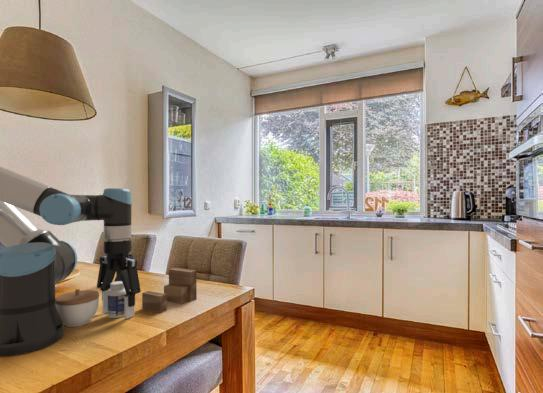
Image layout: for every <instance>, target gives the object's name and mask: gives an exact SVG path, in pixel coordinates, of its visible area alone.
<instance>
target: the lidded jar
mask: <svg viewBox="0 0 543 393" xmlns="http://www.w3.org/2000/svg"><path fill="white" fill-rule="evenodd" d="M99 297H100V292H99V291H98V290H94V289H93V290H92V289H84V290H83V289H81V290H80V288H77V289H76V288H75V290H74V291H70V292H65V293H62V294H59V295H57V296H55V306H56V308H57V311H58V313H59V316H60V318H61V321H62V323H63V325H64V326H65V327H67V328H76V327H81V326H84V325H86V324H88V323H90V321H91V320H92V319H93V318H94V317H95V315H96V313H97V311H98V308H99V302H100V301H99V300H100V298H99Z"/></svg>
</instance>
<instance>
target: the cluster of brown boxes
mask: <svg viewBox="0 0 543 393" xmlns="http://www.w3.org/2000/svg"><path fill="white" fill-rule="evenodd" d="M197 289H198V288H197V270H196V269H189V268H188V269H187V268H181V267H180V268H179V267H171V268H168V284H165V285H164V286H163V293H162V292H157V291H152V290H151V291H150V290H148V291H145V292H142V294H141V295H142V298H141V301H142V304H141V305H142V306H141V308H142V310H147V311H152V312H156V313H159V314H160V313H161V314H162V313H163V312H167V311H168V310H167V309H168V308H167V306H168V302H169V303H173V304H178V305H179V304H180V305H183V304H185V303H187V302H193V301H196V300H197V298H198V297H197V296H198V295H197V291H198V290H197Z"/></svg>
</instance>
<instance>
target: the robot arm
mask: <svg viewBox="0 0 543 393" xmlns="http://www.w3.org/2000/svg"><path fill="white" fill-rule="evenodd" d="M131 192H132V191H130V189H128V188H110V187H109V188H105V189H104V190H103V193H102V194H99V195H98V194H97V195H95V194H92V195H91V194H68V192H67V193H66V192H64V191H61V190H59V189H57V188H54V187H51V186H49V185H46V184H44V183H42V182H39V181H37V180H34V179H32V178H30V177H28V176H24V175H22V174H20V173H18V172H14V171H12V170H10V169H8V168H5V167H2V166H0V243H1V244H2V245H3V246H5V248H2V249H0V357H12V356H18V355H23V354H28V353H31V352H35V351H38V350H41V349H44V348H47V347H49V346H51V345H53V344H55V343H56V342H58V341H59V340H61V339H62V338H63V336H64V324H63V323H62V321H61V318H60V316H59V313H58V311H57V308H56V306H55V298H56V284H58V283H60V282H63V281H64V280H66V279H67V277H69V276H70V275H71V274H72V273H73V271H74V270H75V268H76V266H77V263H78V253H77V252H76V248H74V246H73V245H71V244H70V243H69V242H66V241H63V240H60V239H58V238H57V237H56V235H54V234H53V233H52V232H51V231H50V230H48V229H40V228H39V227H38V226H37V225H35V223H34V222H33V221H32V220H31V219H30V218H28V216H26V214H24V213H23V212H22V211H21V210H23V211H26V212H29V213H31V214H35V215H36V216H38V217H41V218H42V220H44V221H45V222H46V223H48V224H51V225H56V226H66V225H69V224H72V223H77V222H78V223H79V222H85V221H86V222H87V221H103V239H104V242H103V253H104V254H105V255H106V256H104V255H103V256H101V257H99V269H98V275H97V282H96V288H97V289H100V291H101V302H102V306H101V307H102V308H101V309H102V314H106V313H107V314H108V292H109V291H110V290H111V288H110V283H112V282H114V280H115V277H116V271H117V272H118V274H119V275H120V276H121V279H122V282H123V285H124V288H125V291H126V295H125V296H124V305H125V316H124V319H125V320H127V319H130V318H133V317H135V306H136V295H137V294H139V293H141V291H142V290H141V284H140V279H139V273H138V268H137V266H138V260H137V259H136V258H135V259H130V258H129V253H131V252H132V242H133V241H132V240H131V238H132V207H133V206H132V205H133V204H132V193H131ZM125 269H126V270H125Z"/></svg>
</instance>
